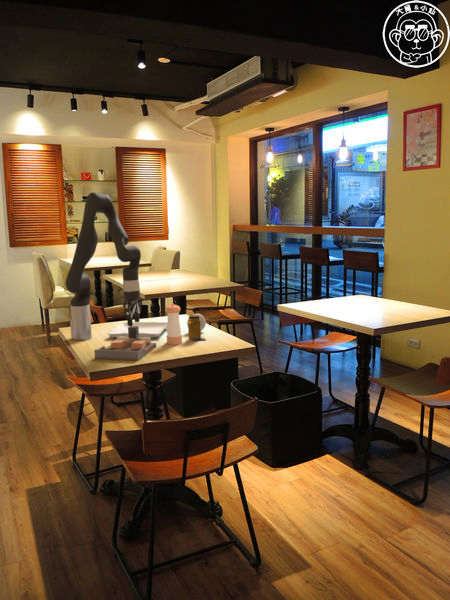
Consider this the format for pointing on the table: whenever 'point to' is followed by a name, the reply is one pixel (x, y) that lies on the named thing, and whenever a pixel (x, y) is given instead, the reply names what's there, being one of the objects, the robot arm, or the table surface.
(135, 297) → the robot arm
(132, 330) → the gray bar with block
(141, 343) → the tile right
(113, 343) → the tile left
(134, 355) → the box
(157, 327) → the square plate
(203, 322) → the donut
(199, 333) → the condiment
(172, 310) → the pepper shaker
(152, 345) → the board
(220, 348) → the table surface
